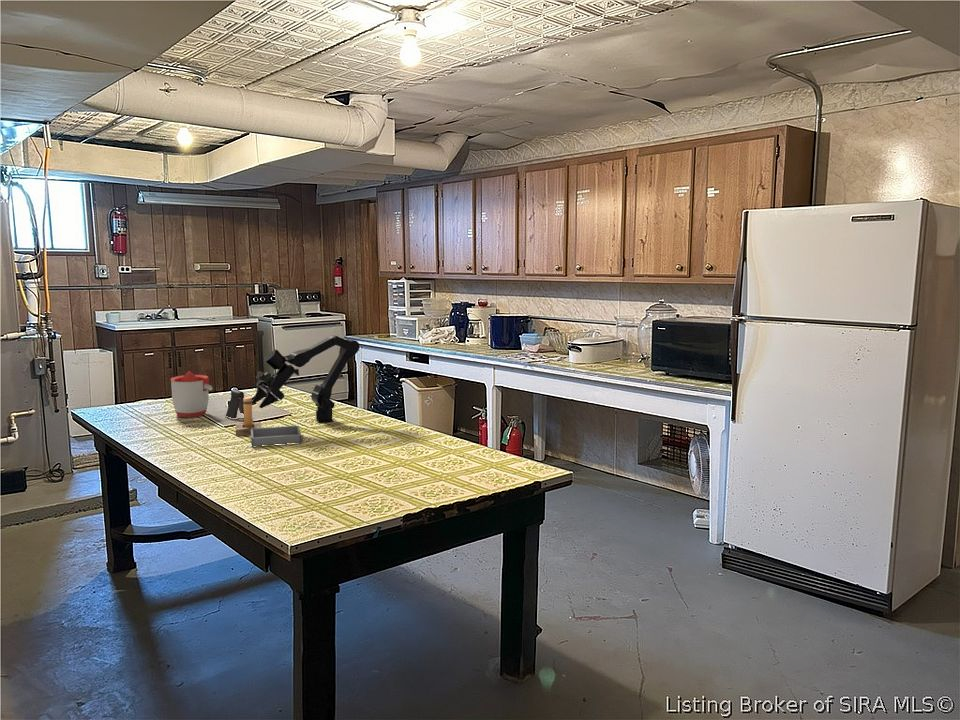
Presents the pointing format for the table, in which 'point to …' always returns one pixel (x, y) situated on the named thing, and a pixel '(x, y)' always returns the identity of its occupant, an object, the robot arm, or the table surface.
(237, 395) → the dark grey a-frame piece
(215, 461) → the table surface
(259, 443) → the tray
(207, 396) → the citrus juicer
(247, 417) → the pin
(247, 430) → the socket block
